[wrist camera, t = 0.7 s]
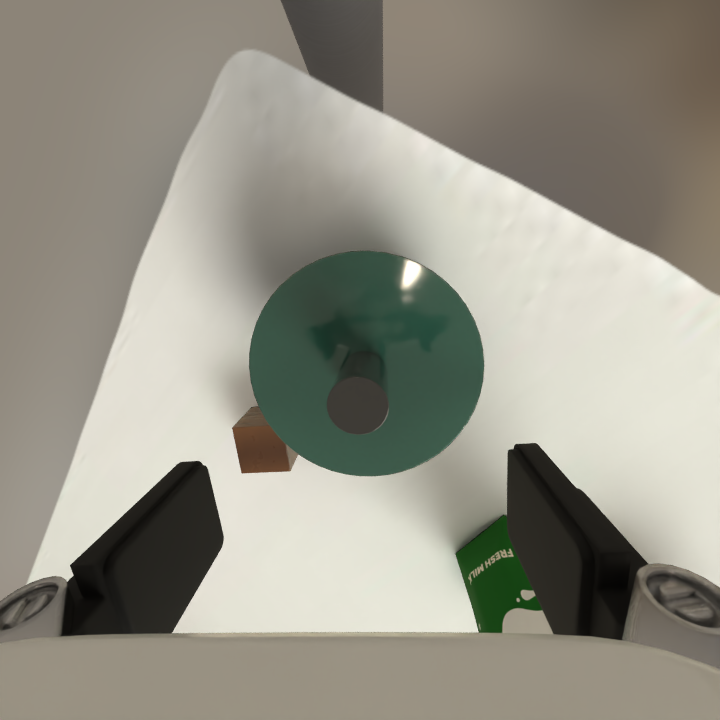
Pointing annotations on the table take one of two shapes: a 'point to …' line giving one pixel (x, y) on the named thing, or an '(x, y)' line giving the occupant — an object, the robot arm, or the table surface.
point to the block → (260, 445)
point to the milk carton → (499, 585)
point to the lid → (366, 363)
